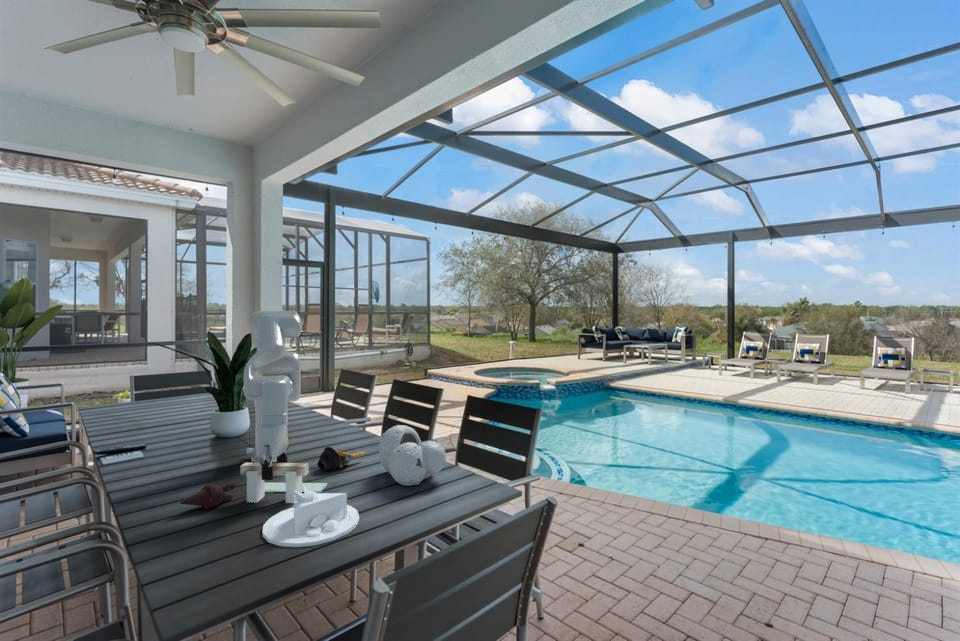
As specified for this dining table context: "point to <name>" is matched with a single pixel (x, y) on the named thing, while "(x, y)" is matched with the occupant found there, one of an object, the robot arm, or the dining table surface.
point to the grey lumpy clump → (409, 455)
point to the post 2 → (292, 485)
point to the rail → (277, 468)
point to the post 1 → (255, 487)
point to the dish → (311, 520)
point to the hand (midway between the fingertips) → (274, 473)
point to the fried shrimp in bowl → (335, 459)
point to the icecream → (210, 496)
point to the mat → (309, 487)
